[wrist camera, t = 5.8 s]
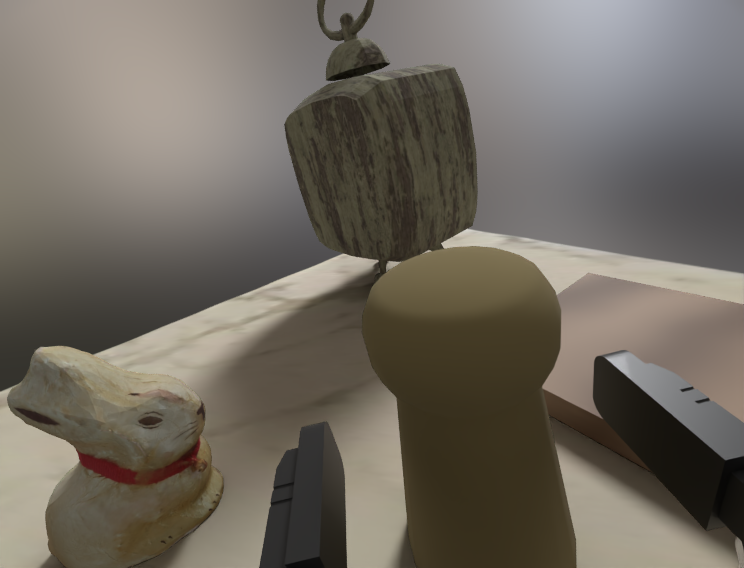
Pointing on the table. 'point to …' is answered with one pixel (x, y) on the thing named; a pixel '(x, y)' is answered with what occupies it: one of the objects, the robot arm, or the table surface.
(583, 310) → the walnut board
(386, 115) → the tabletop clock
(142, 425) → the chocolate bunny
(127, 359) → the table surface
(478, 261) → the cork
